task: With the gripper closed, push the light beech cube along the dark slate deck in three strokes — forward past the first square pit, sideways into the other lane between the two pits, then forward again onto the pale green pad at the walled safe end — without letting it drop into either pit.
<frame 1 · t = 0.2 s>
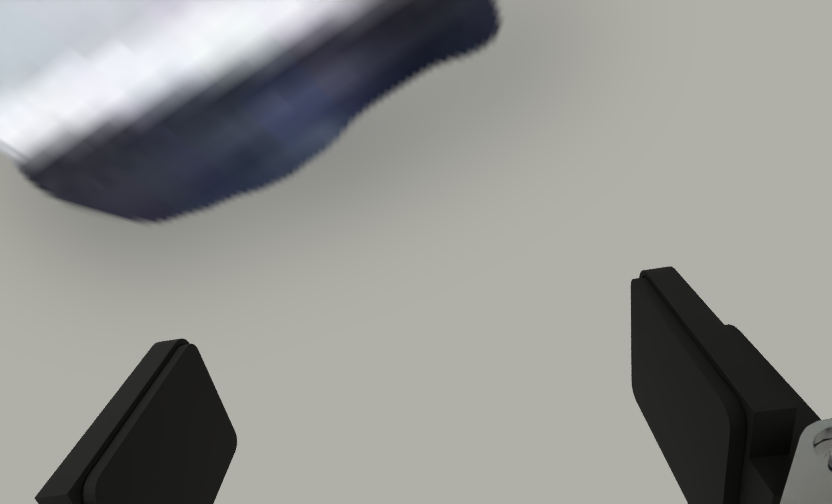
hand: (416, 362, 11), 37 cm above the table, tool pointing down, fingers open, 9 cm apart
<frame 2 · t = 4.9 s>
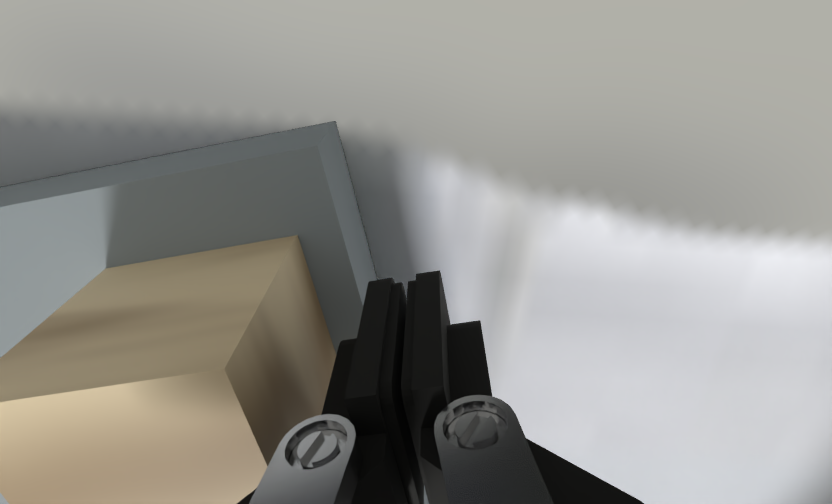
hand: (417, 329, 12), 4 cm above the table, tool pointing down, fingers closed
beech cube: (234, 335, 14), point 3 cm above the table, touching gripper
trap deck: (29, 438, 19), on the table
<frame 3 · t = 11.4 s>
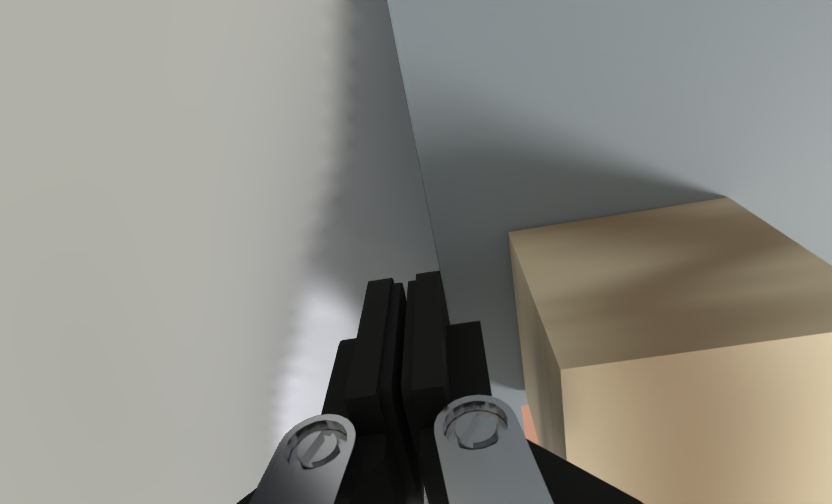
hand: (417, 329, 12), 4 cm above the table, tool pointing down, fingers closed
beech cube: (617, 305, 13), point 3 cm above the table, touching gripper
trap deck: (761, 230, 15), on the table
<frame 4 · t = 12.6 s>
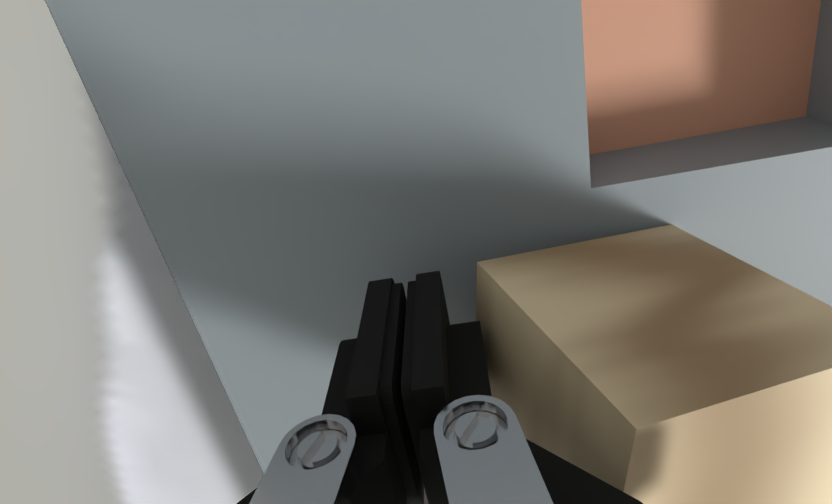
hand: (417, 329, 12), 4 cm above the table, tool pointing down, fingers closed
beech cube: (569, 334, 13), point 3 cm above the table, tilted 20°, touching gripper, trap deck
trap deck: (522, 261, 16), on the table
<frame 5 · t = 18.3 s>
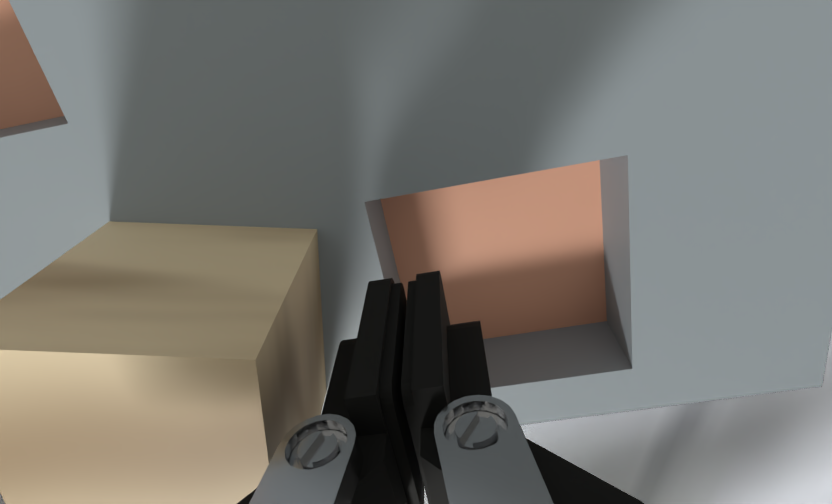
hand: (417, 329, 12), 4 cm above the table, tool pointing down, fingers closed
beech cube: (226, 313, 14), point 3 cm above the table, touching gripper, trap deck
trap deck: (253, 136, 14), on the table
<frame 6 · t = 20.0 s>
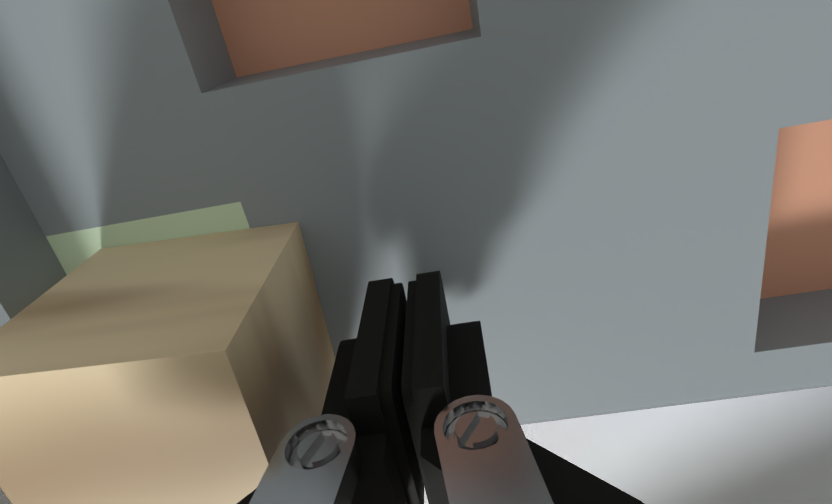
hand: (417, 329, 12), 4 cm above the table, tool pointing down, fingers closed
beech cube: (229, 321, 14), point 3 cm above the table, touching gripper
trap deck: (599, 68, 13), on the table
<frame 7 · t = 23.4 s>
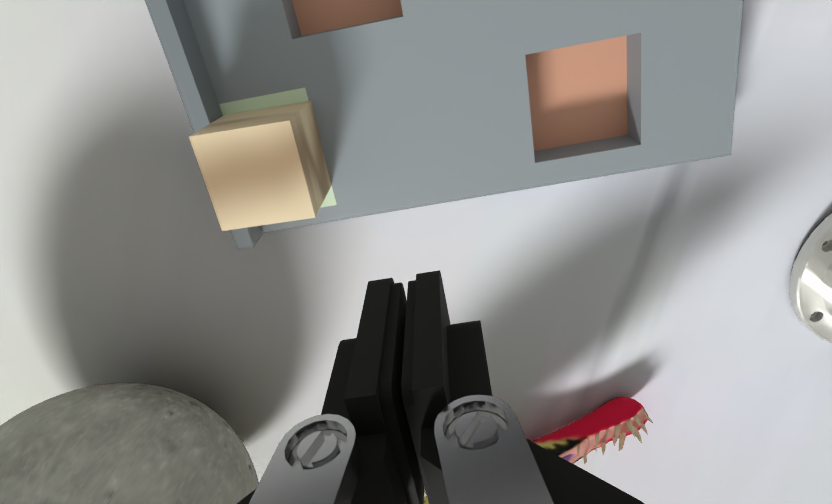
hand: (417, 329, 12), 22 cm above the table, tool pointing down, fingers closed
beech cube: (279, 150, 31), point 2 cm above the table, touching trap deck
toy: (488, 459, 45), on the table
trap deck: (462, 32, 30), on the table
decorative sphere: (173, 424, 44), on the table
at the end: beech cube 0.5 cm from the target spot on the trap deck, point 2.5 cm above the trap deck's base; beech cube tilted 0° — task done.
